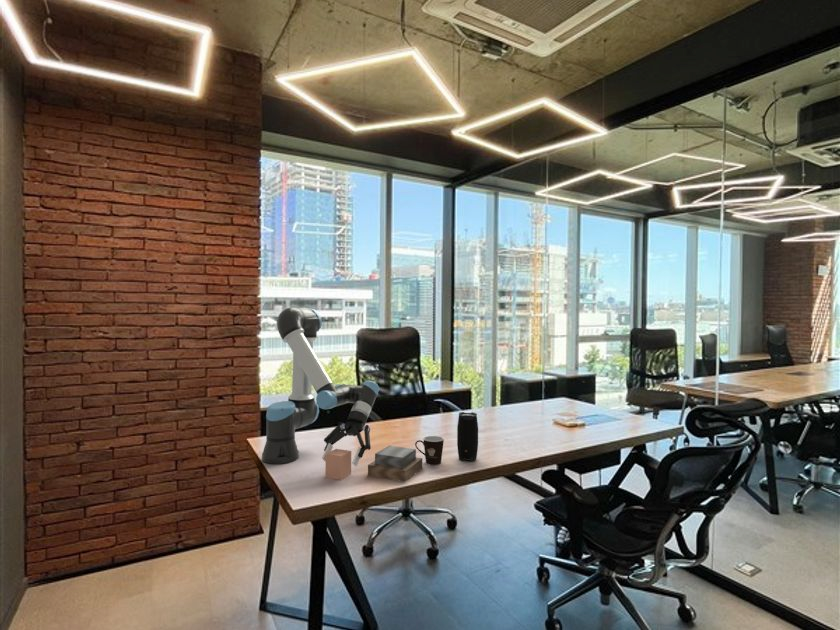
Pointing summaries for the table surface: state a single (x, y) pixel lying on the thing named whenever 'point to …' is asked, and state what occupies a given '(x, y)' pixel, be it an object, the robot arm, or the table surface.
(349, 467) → the terracotta brick
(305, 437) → the table surface
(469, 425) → the portable speaker
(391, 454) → the block tower
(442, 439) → the coffee mug
